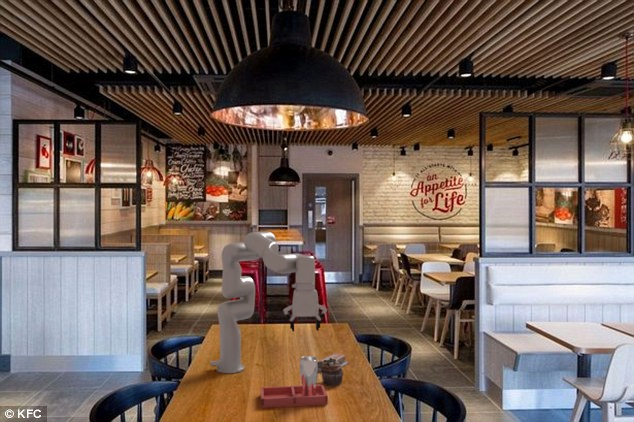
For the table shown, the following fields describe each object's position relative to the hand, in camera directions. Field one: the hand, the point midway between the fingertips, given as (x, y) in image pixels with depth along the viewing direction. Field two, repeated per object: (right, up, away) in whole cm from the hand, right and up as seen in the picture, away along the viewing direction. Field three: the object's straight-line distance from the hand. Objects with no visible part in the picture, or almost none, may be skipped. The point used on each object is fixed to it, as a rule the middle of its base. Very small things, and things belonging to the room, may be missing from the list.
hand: (305, 330), depth 206 cm
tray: (-4, -26, -3) cm, 27 cm away
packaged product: (+11, -27, +39) cm, 49 cm away
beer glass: (+2, -26, -2) cm, 26 cm away
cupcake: (+11, -26, +17) cm, 33 cm away
